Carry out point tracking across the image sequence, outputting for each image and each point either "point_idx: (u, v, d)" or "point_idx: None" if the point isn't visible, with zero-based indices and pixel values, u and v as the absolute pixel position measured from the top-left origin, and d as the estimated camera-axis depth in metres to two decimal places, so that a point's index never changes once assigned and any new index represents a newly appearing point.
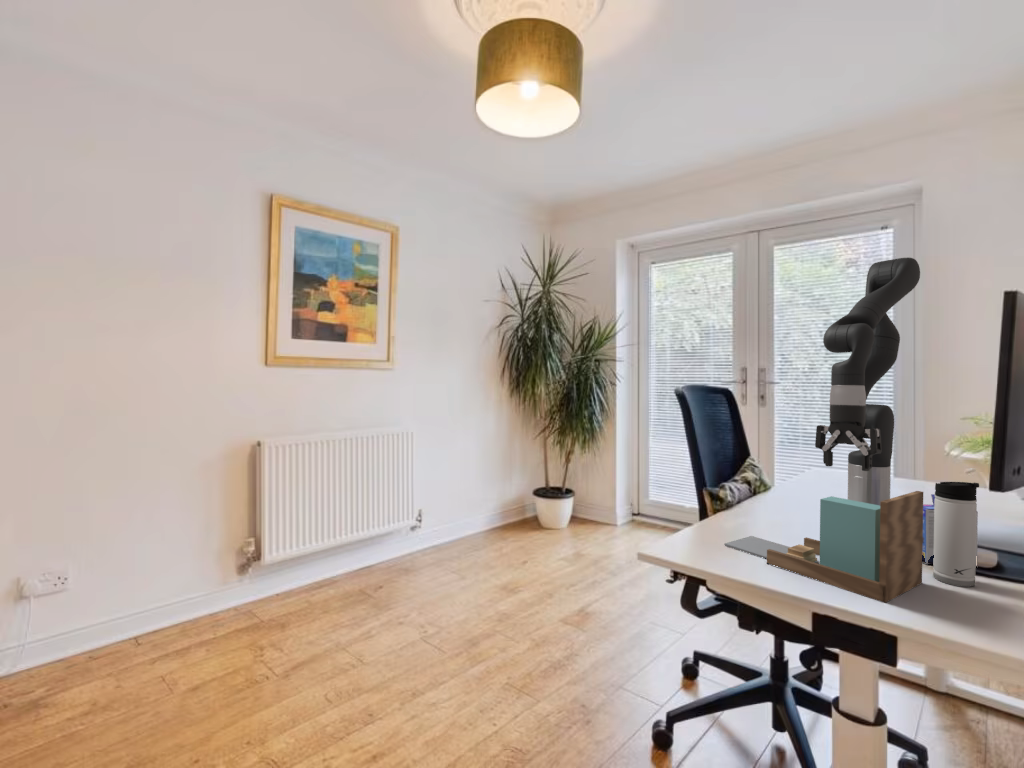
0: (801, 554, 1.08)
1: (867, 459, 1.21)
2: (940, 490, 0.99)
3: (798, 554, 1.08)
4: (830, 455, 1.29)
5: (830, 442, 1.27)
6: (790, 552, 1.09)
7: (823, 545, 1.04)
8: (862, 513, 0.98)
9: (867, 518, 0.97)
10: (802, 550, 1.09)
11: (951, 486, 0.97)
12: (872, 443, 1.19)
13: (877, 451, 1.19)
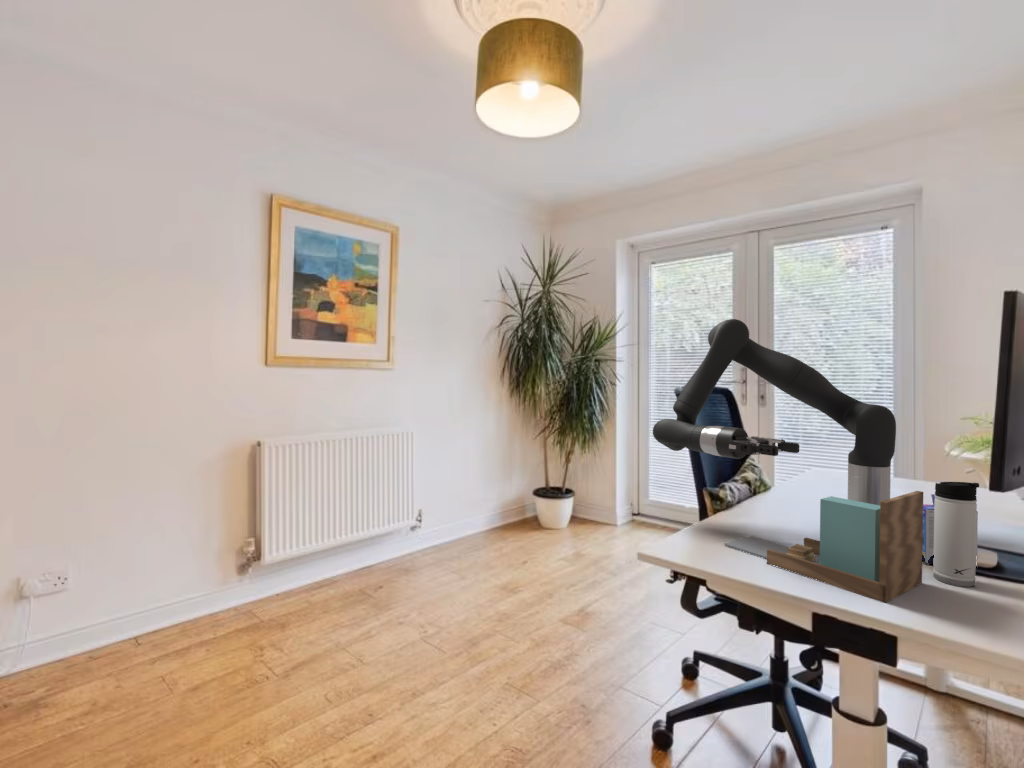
0: (802, 554, 1.08)
1: (763, 452, 1.12)
2: (940, 490, 0.99)
3: (798, 554, 1.08)
4: (785, 447, 1.16)
5: None
6: (790, 552, 1.09)
7: (823, 545, 1.04)
8: (862, 513, 0.98)
9: (867, 518, 0.97)
10: (802, 550, 1.09)
11: (951, 486, 0.97)
12: None
13: (748, 452, 1.13)
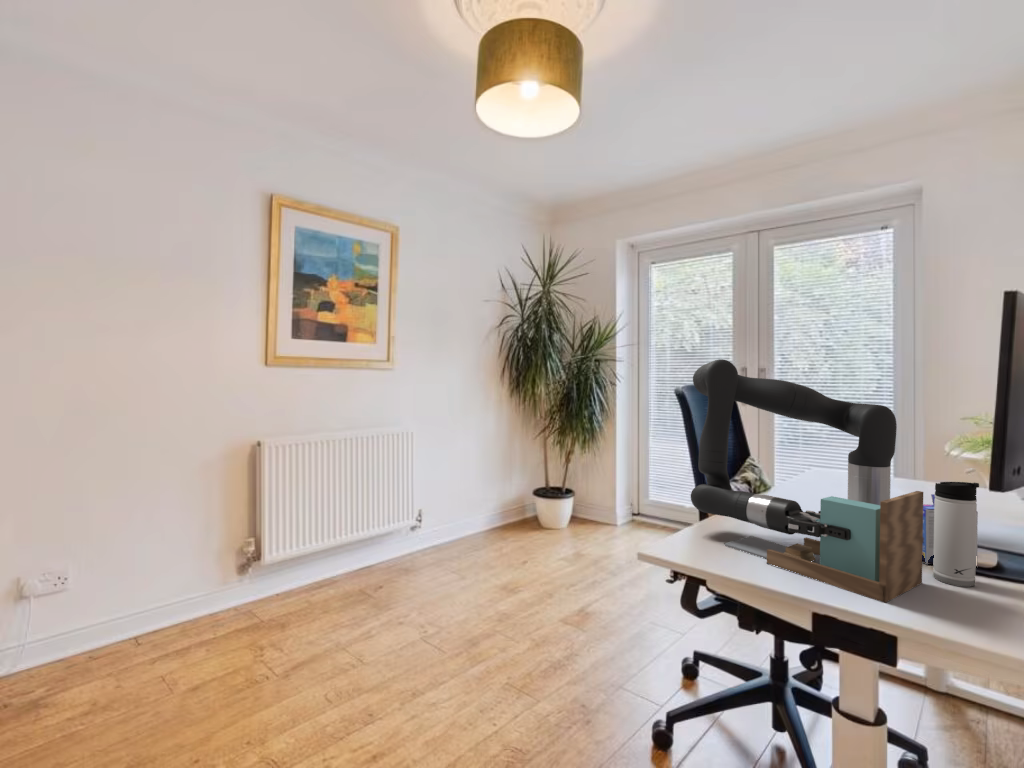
0: (799, 553, 1.08)
1: None
2: (940, 490, 0.99)
3: (796, 553, 1.09)
4: None
5: None
6: (788, 551, 1.10)
7: (823, 545, 1.04)
8: (862, 513, 0.98)
9: (867, 518, 0.97)
10: (800, 549, 1.09)
11: (951, 486, 0.97)
12: None
13: (817, 534, 1.02)
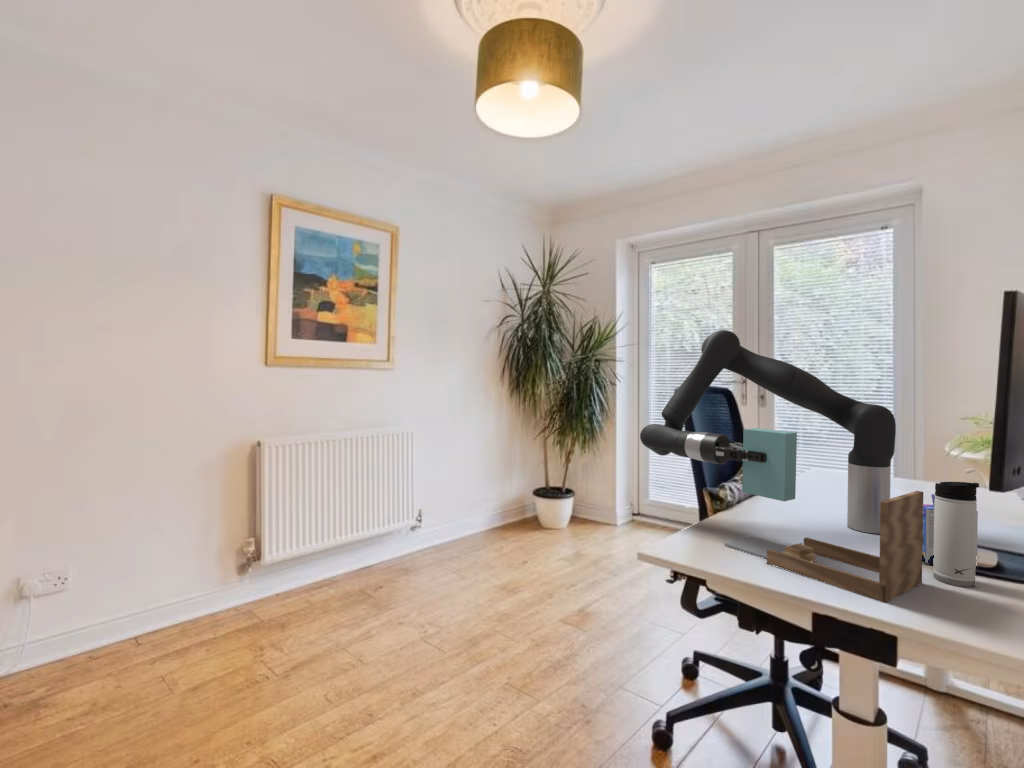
0: (797, 553, 1.08)
1: None
2: (940, 490, 0.99)
3: (795, 553, 1.09)
4: None
5: None
6: (787, 550, 1.10)
7: (745, 469, 1.18)
8: (775, 438, 1.12)
9: (779, 442, 1.11)
10: (799, 549, 1.09)
11: (951, 486, 0.97)
12: None
13: (738, 458, 1.16)
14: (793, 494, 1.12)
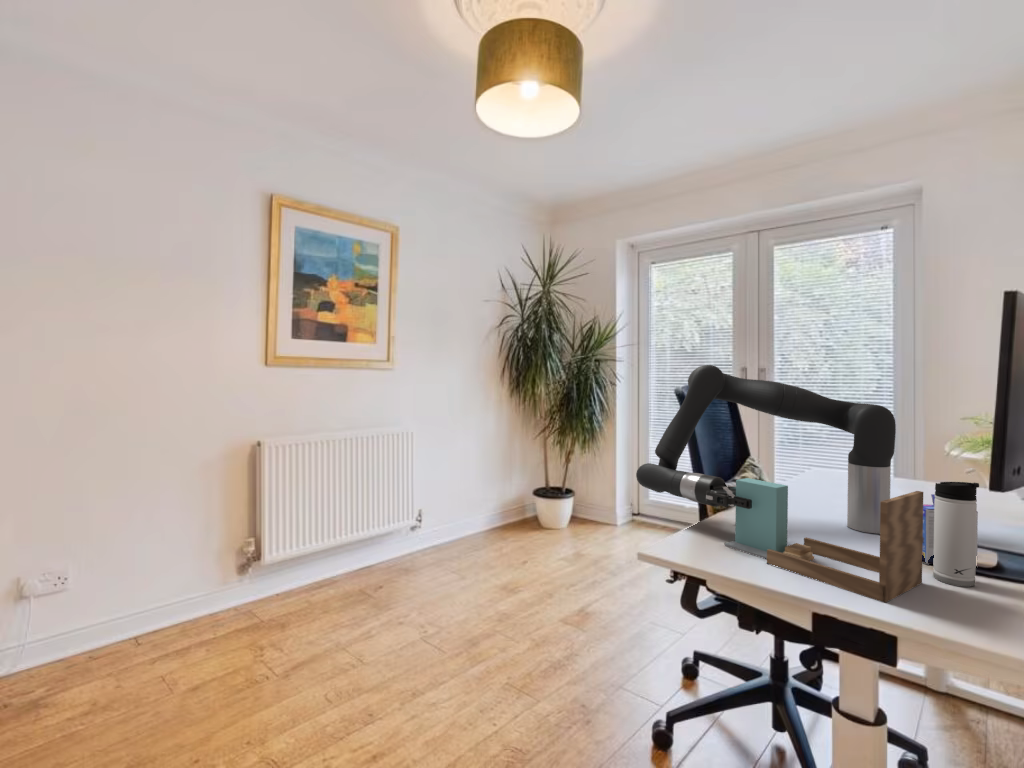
0: (798, 552, 1.09)
1: None
2: (940, 490, 0.99)
3: (795, 552, 1.09)
4: None
5: None
6: (787, 551, 1.10)
7: (738, 519, 1.20)
8: (766, 491, 1.14)
9: (770, 495, 1.13)
10: (799, 548, 1.10)
11: (951, 486, 0.97)
12: None
13: (724, 504, 1.18)
14: (785, 546, 1.14)
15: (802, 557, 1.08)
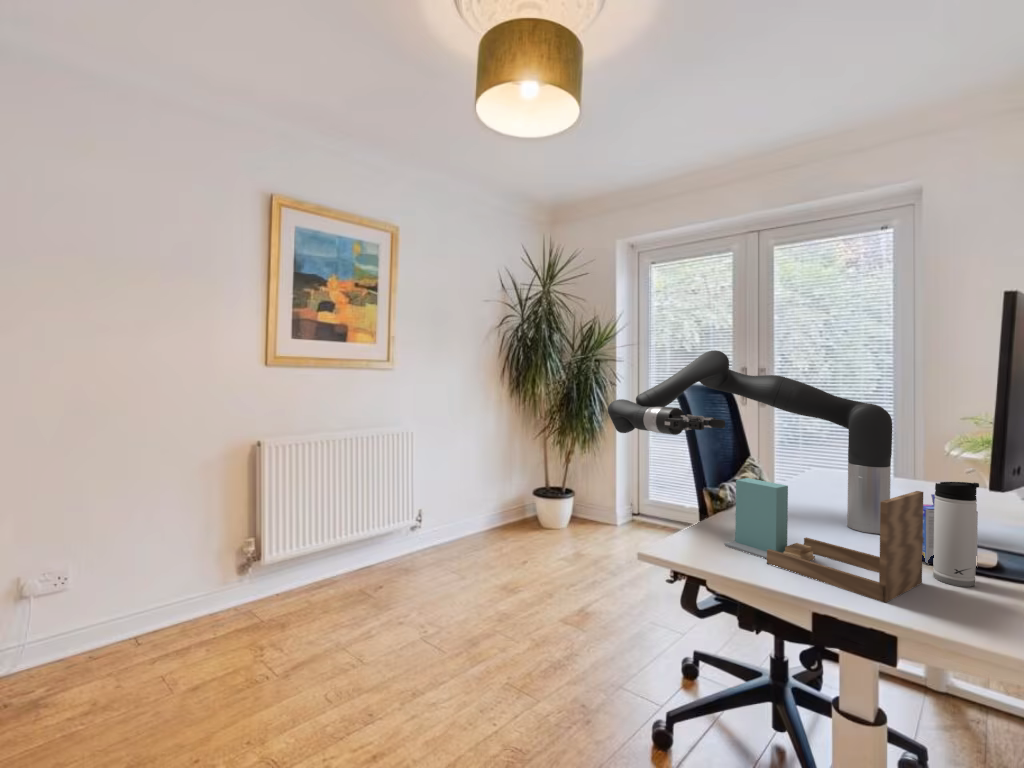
0: (798, 552, 1.09)
1: (691, 427, 1.28)
2: (940, 490, 0.99)
3: (795, 552, 1.09)
4: (714, 423, 1.32)
5: None
6: (787, 550, 1.11)
7: (738, 519, 1.20)
8: (766, 491, 1.14)
9: (770, 495, 1.13)
10: (799, 548, 1.10)
11: (951, 486, 0.97)
12: (675, 428, 1.31)
13: (679, 427, 1.29)
14: (785, 546, 1.14)
15: (802, 557, 1.08)
